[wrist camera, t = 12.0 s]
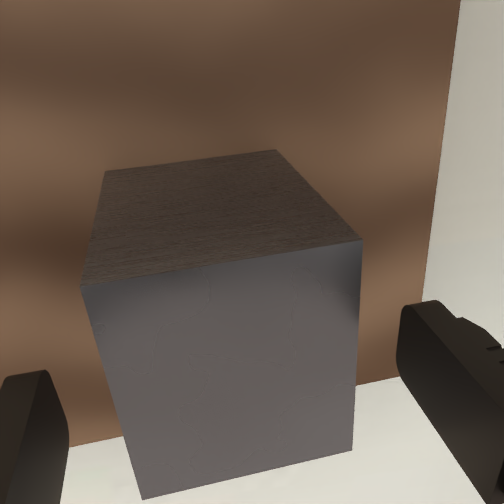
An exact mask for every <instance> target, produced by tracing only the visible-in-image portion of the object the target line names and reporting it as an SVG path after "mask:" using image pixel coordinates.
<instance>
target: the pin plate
mask: <svg viewBox="0 0 504 504" xmlns="http://www.w3.org/2000/svg"><path fill="white" fill-rule="evenodd" d="M460 2H461V0H0V389H1V386H2V384H3V381H4V379H5V378H6V377H7V376H11V375H16V374H22V373H28V372H33V371H39V370H44V369H45V370H47V371H48V372H49V374H50V376H51V378H52V381H53V384H54V386H55V389H56V392H57V394H58V397H59V400H60V402H61V405H62V408H63V411H64V413H65V416H66V419H67V423H68V428H69V447H74V446H79V445H83V444H88V443H93V442H97V441H102V440H107V439H111V438H116V437H120V436H123V433H122V430H121V426H120V423H119V419H118V416H117V413H116V409H115V406H114V402H113V399H112V396H111V392H110V389H109V385H108V382H107V379H106V375H105V372H104V368H103V365H102V362H101V358H100V355H99V351H98V348H97V345H96V341H95V338H94V334H93V331H92V328H91V324H90V321H89V317H88V314H87V311H86V307H85V304H84V300H83V297H82V294H81V290H80V282H81V277H82V273H83V268H84V264H85V259H86V255H87V250H88V245H89V241H90V236H91V232H92V227H93V223H94V218H95V213H96V209H97V204H98V200H99V195H100V191H101V186H102V181H103V177H104V172H105V171H110V170H118V169H126V168H134V167H141V166H149V165H157V164H165V163H172V162H180V161H188V160H196V159H203V158H211V157H219V156H227V155H234V154H242V153H250V152H258V151H265V150H273V149H276V150H277V151H278V152H279V153H280V154H281V155H282V156H283V157H284V158H285V159H286V160H287V161H288V162H289V163H290V164H291V165H292V166H293V167H294V168H295V169H296V170H297V171H298V172H299V173H300V175H301V176H302V177H303V178H304V179H305V180H306V181H307V182H308V183H309V184H310V185H311V186H312V187H313V188H314V189H315V190H316V191H317V192H318V193H319V194H320V195H321V196H322V197H323V198H324V200H325V201H326V202H327V203H328V204H329V205H330V206H331V207H332V208H333V209H334V210H335V211H336V212H337V213H338V214H339V215H340V216H341V217H342V218H343V219H344V220H345V221H346V222H347V223H348V224H349V226H350V227H351V228H352V229H353V230H354V231H355V232H356V233H357V234H358V235H359V236H360V237H361V238H362V239H363V255H362V274H361V293H360V311H359V330H358V349H357V368H356V386H357V385H362V384H366V383H371V382H375V381H380V380H385V379H389V378H394V377H399V376H400V374H399V371H398V368H397V364H396V349H397V341H398V332H399V324H400V316H401V311H402V308H403V307H404V306H405V305H409V304H415V303H420V302H422V294H423V286H424V279H425V271H426V263H427V256H428V248H429V240H430V233H431V225H432V217H433V210H434V202H435V194H436V186H437V179H438V171H439V163H440V156H441V148H442V140H443V133H444V125H445V117H446V110H447V102H448V94H449V86H450V79H451V71H452V63H453V56H454V48H455V40H456V33H457V25H458V17H459V10H460Z"/></svg>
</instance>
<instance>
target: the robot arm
mask: <svg viewBox="0 0 504 504" xmlns="http://www.w3.org/2000/svg"><path fill="white" fill-rule="evenodd" d="M396 364H397V368H398V371H399V374H400V377H401V379H402V380H403V382H404V384H405V385H406V386H407V388H408V389H409V391H410V392H411V394H412V395H413V397H414V398H415V400H416V401H417V403H418V404H419V406H420V407H421V409H422V410H423V412H424V413H425V415H426V416H427V417H428V419H429V420H430V422H431V423H432V425H433V426H434V428H435V429H436V431H437V432H438V434H439V435H440V437H441V438H442V440H443V441H444V443H445V444H446V446H447V447H448V448H449V450H450V451H451V453H452V454H453V456H454V457H455V459H456V460H457V462H458V463H459V465H460V466H461V468H462V469H463V471H464V472H465V474H466V475H467V476H468V478H469V479H470V481H471V482H472V484H473V485H474V487H475V488H476V490H477V491H478V493H479V494H480V496H481V497H482V499H483V500H484V502H485V503H486V504H503V503H504V348H503V349H502V347H501V344H499V343H498V342H497V341H496V340H495V339H494V338H493V337H492V336H491V335H490V334H489V333H488V332H487V331H486V330H485V329H483V328H482V327H480V326H478V325H476V324H474V323H472V322H471V321H469V320H467V319H465V318H463V317H461V318H456V317H455V316H454V315H453V314H452V313H451V312H450V311H449V310H448V309H447V308H446V307H445V306H444V305H443V304H442V303H441V302H439V301H437V300H431V301H426V302H420V303H415V304H409V305H405V306H404V307H403V308H402V311H401V316H400V324H399V332H398V341H397V349H396ZM68 451H69V428H68V423H67V419H66V416H65V413H64V411H63V408H62V405H61V402H60V400H59V397H58V394H57V392H56V389H55V386H54V384H53V381H52V378H51V376H50V374H49V372H48V371H47V370H45V369H44V370H39V371H33V372H28V373H22V374H16V375H11V376H7V377H6V378H5V379H4V381H3V384H2V386H1V389H0V504H60V499H61V493H62V487H63V481H64V475H65V469H66V463H67V457H68Z"/></svg>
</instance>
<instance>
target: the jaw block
mask: <svg viewBox="0 0 504 504" xmlns="http://www.w3.org/2000/svg"><path fill="white" fill-rule="evenodd" d="M362 255H363V239H362V238H361V237H360V236H359V235H358V234H357V233H356V232H355V231H354V230H353V229H352V228H351V227H350V226H349V224H348V223H347V222H346V221H345V220H344V219H343V218H342V217H341V216H340V215H339V214H338V213H337V212H336V211H335V210H334V209H333V208H332V207H331V206H330V205H329V204H328V203H327V202H326V201H325V200H324V198H323V197H322V196H321V195H320V194H319V193H318V192H317V191H316V190H315V189H314V188H313V187H312V186H311V185H310V184H309V183H308V182H307V181H306V180H305V179H304V178H303V177H302V176H301V175H300V173H299V172H298V171H297V170H296V169H295V168H294V167H293V166H292V165H291V164H290V163H289V162H288V161H287V160H286V159H285V158H284V157H283V156H282V155H281V154H280V153H279V152H278V151H277V150H276V149H273V150H265V151H258V152H250V153H242V154H234V155H227V156H219V157H211V158H203V159H196V160H188V161H180V162H172V163H165V164H157V165H149V166H141V167H134V168H126V169H118V170H110V171H105V172H104V177H103V181H102V186H101V191H100V195H99V200H98V204H97V209H96V213H95V218H94V223H93V227H92V232H91V236H90V241H89V245H88V250H87V255H86V259H85V264H84V268H83V273H82V277H81V282H80V290H81V294H82V297H83V300H84V304H85V307H86V311H87V314H88V317H89V321H90V324H91V328H92V331H93V334H94V338H95V341H96V345H97V348H98V351H99V355H100V358H101V362H102V365H103V368H104V372H105V375H106V379H107V382H108V385H109V389H110V392H111V396H112V399H113V402H114V406H115V409H116V413H117V416H118V419H119V423H120V426H121V430H122V433H123V436H124V440H125V443H126V447H127V450H128V453H129V457H130V460H131V464H132V467H133V470H134V474H135V477H136V481H137V484H138V487H139V491H140V494H141V498H142V500H145V499H149V498H154V497H158V496H162V495H166V494H171V493H175V492H179V491H183V490H187V489H192V488H196V487H200V486H204V485H208V484H213V483H217V482H221V481H225V480H229V479H234V478H238V477H242V476H246V475H251V474H255V473H259V472H263V471H267V470H272V469H276V468H280V467H284V466H288V465H293V464H297V463H301V462H305V461H309V460H314V459H318V458H322V457H326V456H331V455H335V454H339V453H343V452H347V451H352V443H353V424H354V405H355V387H356V368H357V349H358V330H359V311H360V293H361V274H362Z"/></svg>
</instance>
